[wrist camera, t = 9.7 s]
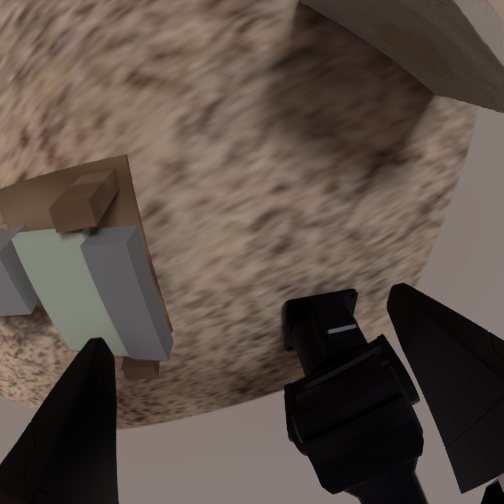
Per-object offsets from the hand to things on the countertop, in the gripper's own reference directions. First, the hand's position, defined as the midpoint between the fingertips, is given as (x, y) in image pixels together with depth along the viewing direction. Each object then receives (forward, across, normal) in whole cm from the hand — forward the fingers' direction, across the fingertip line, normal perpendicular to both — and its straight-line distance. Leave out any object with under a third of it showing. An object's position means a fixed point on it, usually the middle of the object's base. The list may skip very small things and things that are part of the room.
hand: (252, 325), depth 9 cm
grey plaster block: (+13, -12, -10) cm, 20 cm away
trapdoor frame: (+12, +11, +5) cm, 17 cm away
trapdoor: (+9, +9, +5) cm, 14 cm away
